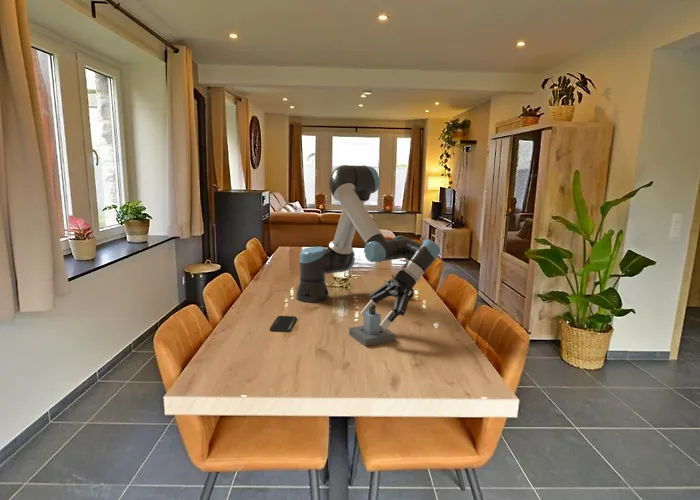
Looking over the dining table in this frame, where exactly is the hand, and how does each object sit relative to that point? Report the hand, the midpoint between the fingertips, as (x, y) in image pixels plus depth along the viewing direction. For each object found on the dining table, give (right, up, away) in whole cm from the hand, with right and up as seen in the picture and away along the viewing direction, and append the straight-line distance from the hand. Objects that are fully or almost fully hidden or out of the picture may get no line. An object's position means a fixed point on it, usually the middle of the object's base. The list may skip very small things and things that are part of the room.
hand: (372, 321), depth 151 cm
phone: (-33, -4, +13) cm, 36 cm away
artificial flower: (+15, +4, +59) cm, 61 cm away
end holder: (0, -6, +1) cm, 6 cm away
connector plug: (0, -6, +2) cm, 6 cm away
